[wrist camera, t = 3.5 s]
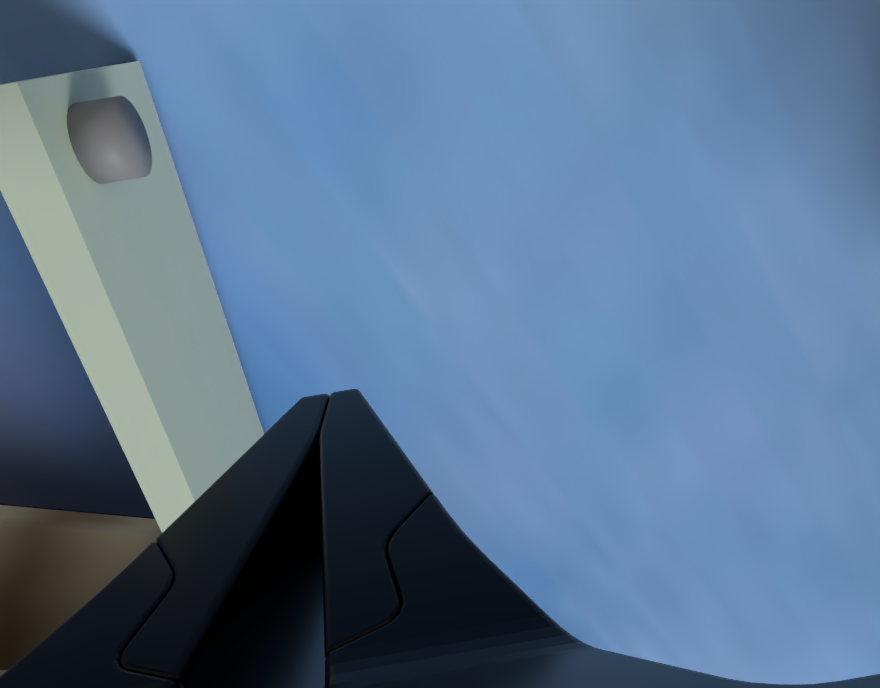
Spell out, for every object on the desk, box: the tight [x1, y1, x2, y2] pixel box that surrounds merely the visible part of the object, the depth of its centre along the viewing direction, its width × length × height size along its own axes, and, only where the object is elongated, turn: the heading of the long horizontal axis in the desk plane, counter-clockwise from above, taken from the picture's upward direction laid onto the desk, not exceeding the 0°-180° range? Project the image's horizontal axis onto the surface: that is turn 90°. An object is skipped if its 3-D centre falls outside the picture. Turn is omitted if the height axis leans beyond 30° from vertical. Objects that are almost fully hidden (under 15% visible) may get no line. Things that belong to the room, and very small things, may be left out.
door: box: [0, 61, 264, 533], centre depth 19 cm, size 18×3×7 cm, turn 8°
